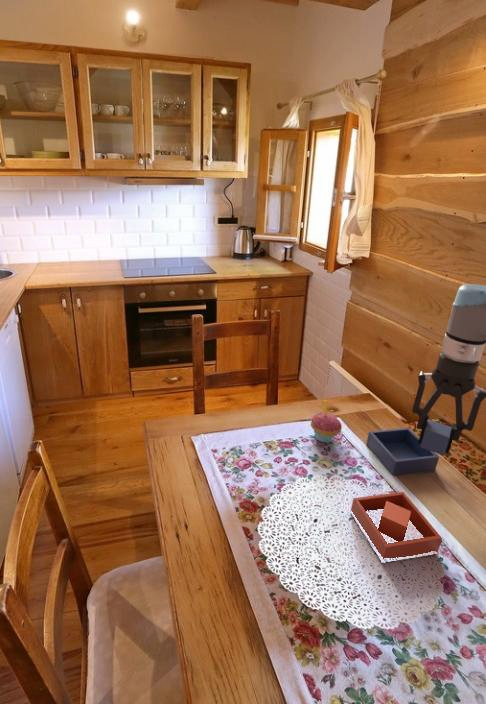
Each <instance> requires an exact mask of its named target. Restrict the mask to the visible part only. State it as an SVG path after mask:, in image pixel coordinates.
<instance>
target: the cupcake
mask: <svg viewBox="0 0 486 704" xmlns="http://www.w3.org/2000/svg"><path fill="white" fill-rule="evenodd" d="M323 410H324V411H323V412H319V413H316V414H314V415H313V416H312V417H311V422H310V428H312V430H313V432H314V437H315V439H316V440H317V441H319V442H321V443H330V442H331V441H332V440H333V439H334V437H335V436H336V435H338V434H339V433H341V432H342V429H343V427H342V426H343V425H342V423H341V421H340V420H339V419H338V418H337V416H335V415H334V414H330V413H328V412H327V411H328V400H327V399H325V400H324V409H323Z"/></svg>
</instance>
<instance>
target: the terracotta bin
mask: <svg viewBox="0 0 486 704" xmlns="http://www.w3.org/2000/svg"><path fill="white" fill-rule="evenodd" d="M387 501H388V502H391V503H393V504H395V505H397V506H400V507H402V508H404V509H406V510H409V511H411V515H410V519H409V520H410V521H411V522H412V524H413V525H414V526H415V527H416V529H417V530H418V531H419V532H420V533H421V534H422V535H423V537H424V538H420V539H413V540H407V541H401V542H394V543H388V544H387V542H386V541H385V539H384V538H383V536H382V535H381V533H380V532H379V530H378V529H377V527H376V526H375V524H374V523H373V521H372V520H371V518H370V517H369V515H368V514H367V513H366V511H367V510H368V511H369V510H377V509H384V507H385V505H386V502H387ZM351 511H352V512H353V514H354V515H355V517H356V518H357V520H358V521H359V523H360V524H361V526H362V527H363V529H364V530H365V532H366V533H367V535H368V536H369V538H370V540H371V541H372V543H373V544H374V546H375V547H376V549H377V550H378V552H379V553H380V554H381V556H382V557H383V559H384V558H396V557H397V558H398V557H406V556H413V555H418V554H423V553H428V552H431V551H436V552H437V554H438V553H439V549H440V546H441V544H442V540H443V537H442V536H441V535H440V534H439V532H438V531H437V530H436V529H435V528H434V527H433V525H432V524H431V522H429V520H428V519H427V518H426V517H425V516H424V514H423V513H422V512H421V511H420V510H419V509H418V507H417V506H416V505H415V504H414V503H413V501H412V500H411V499H410V498H409V497H408V495H407V494H406V493H405V492H404V491H399V492H392V493H391V492H390V493H384V494H376V495H367V496H360V497H353V498H352V503H351V507H350V512H351Z"/></svg>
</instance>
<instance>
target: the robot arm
mask: <svg viewBox="0 0 486 704" xmlns="http://www.w3.org/2000/svg"><path fill="white" fill-rule="evenodd" d="M485 346H486V285H483V284H475V283H466V284H463V285H461V286H460V287H459V288H458V290H457V292H456V295H455V299H454V301H453V303H452V307H451V311H450V315H449V319H448V323H447V327H446V331H445V333H444V337H443V341H442V345H441V348H440V349H441V352H440V353H439V356H438V359H437V363H436V365H435V369H434V370H433V371H432V372H425V371H423V370H421V371H420V372H419V374H418V376H417V380H418V388H417V390H416V395H415V399H414V400H413V401H414V402H413V405H412V409H411V412H412V413H413V414H417V416H418V420H417V423H416V428H417V429H419V430H420V434H419V441H418V443H420V444H421V443H422V440H423V436H424V433H425V429H426V426H427V422H428V420H430V415H429V413H430V411H431V409H432V408H433V407H434V405H435V404H436V403H437V401H438V400H439V398H440V397H441V396H442V395H449V397H452V398H454V402H455V423H454V422H453V423H452V425H451V427H452V428H451V432H450V439H449V442H448V445H447V448H446V451H445V454H449V453H450V450H451V446H452V443H453V441H454V442H458V441H460V437H461V435H462V432H463V431H464V430H467V431H468V432H471V431H473V429H474V426H475V423H476V420H477V416H478V414H479V410H480V406H481V403H482V402H483V401H484V400H485V399H486V388H485V387H480V386H478V385H477V384H476V380H475V379H476V375H477V372H478V368H479V365H480V362H479V361H481V359H482V357H483V356H482V355H483V352H484V350H485ZM431 379H432V382H433V384H434V385H435V388H434V390H433V392H432V393H431V395H430V396H429V398H428V399H427V401H426V402H425V404H424V406H422V407H420V405H421V402H422V399H423V395H424V392H425V388H426V386H427V384H428V383H429V382H430V380H431ZM471 391H473V393H472V394H473V401H472V403H471V406H470V407H471V408H470V411H469V413H468V418H467V420H466V421H464V405H463V404H464V402H463V401H464V399H463V396H464V395H467V393H469V392H471Z"/></svg>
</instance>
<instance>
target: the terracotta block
mask: <svg viewBox="0 0 486 704" xmlns="http://www.w3.org/2000/svg"><path fill="white" fill-rule="evenodd" d="M410 515H411V511H409V510H406V509H404V508H402V507H400V506H397V505H395V504H393V503H391V502H388V501H387V502H386V505H385V507H384V510H383V513H382V516H381V520H380V524H379V528H378V530H379V532H381V533H383V534H385V535H387V536H389V537H391V538H393V539H394V540H396V541H398V542H401V541H403V540H404V537H405V533H406V530H407V526H408V522H409V519H410Z"/></svg>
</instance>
